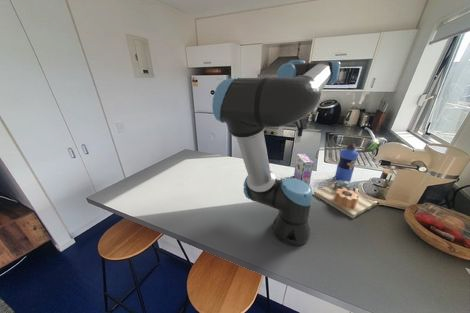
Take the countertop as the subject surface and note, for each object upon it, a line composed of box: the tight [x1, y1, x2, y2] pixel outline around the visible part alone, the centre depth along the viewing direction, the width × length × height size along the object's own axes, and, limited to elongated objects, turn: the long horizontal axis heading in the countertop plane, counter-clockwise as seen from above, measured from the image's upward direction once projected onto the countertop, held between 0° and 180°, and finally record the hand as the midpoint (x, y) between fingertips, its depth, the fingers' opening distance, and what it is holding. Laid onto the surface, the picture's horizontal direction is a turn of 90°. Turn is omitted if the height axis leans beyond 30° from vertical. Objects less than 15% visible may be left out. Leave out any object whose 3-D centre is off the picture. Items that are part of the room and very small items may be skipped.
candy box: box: [293, 153, 314, 187], centre depth 110 cm, size 14×6×16 cm, turn 179°
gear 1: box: [334, 180, 357, 192], centre depth 99 cm, size 10×10×5 cm
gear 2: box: [334, 188, 359, 208], centre depth 89 cm, size 10×10×5 cm
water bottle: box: [334, 141, 359, 183], centre depth 111 cm, size 9×9×25 cm
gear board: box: [313, 182, 378, 219], centre depth 95 cm, size 24×22×8 cm
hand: (288, 138), depth 93 cm, fingers open, 13 cm apart
